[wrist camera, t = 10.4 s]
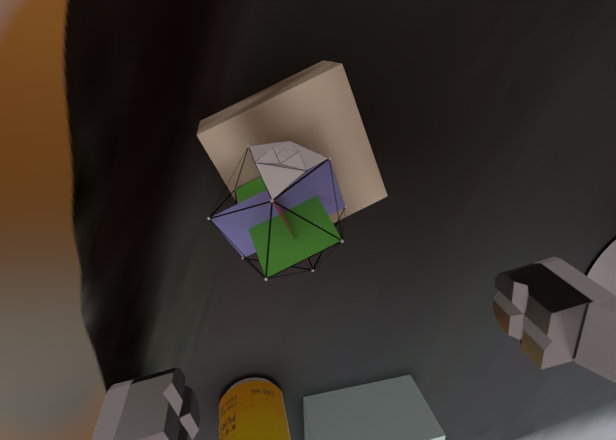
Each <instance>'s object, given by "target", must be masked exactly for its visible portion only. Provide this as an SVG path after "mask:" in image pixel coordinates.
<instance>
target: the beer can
mask: <svg viewBox="0 0 616 440" xmlns="http://www.w3.org/2000/svg"><path fill="white" fill-rule="evenodd" d="M219 440H291V439H290V433H289V428H288V423H287V417H286V412H285V406H284V401H283V396H282V392H281V390H280V389H279V388H278V387H277V386H276V385H274V384H273V383H271V382H270V381H268V380H266V379H263V378H248V379H244V380H241V381H239V382H237V383H235V384H234V385H233V386H231V387H230V388H229V390H228V391H227V392H226V393H225V395H224V396H223V397H222V399H221V401H220V404H219Z"/></svg>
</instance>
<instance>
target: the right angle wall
mask: <svg viewBox="0 0 616 440" xmlns="http://www.w3.org/2000/svg"><path fill="white" fill-rule="evenodd" d="M303 404H304V434H305V440H445V434H444V432H443V430H442V429H441V427H440V425H439V423H438V422H437V420H436V418H435V416H434V415H433V413H432V411H431V410H430V408H429V406H428V404H427V403H426V401H425V399H424V397H423V396H422V394H421V392H420V391H419V389H418V387H417V385H416V384H415V382H414V380H413V378H412V377H411V375H406V376H401V377H397V378H392V379H387V380H382V381H378V382H373V383H368V384H363V385H359V386H354V387H349V388H344V389H340V390H335V391H330V392H325V393H320V394H316V395H311V396H306V397H303Z"/></svg>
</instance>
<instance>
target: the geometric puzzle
mask: <svg viewBox="0 0 616 440" xmlns="http://www.w3.org/2000/svg"><path fill="white" fill-rule="evenodd" d="M248 148H249V150H250V152H251V155H252V157H253V160H254V163H255V165H256V167H257V169H258V171H259V174H260V177H258V178H256V179H254V180H252V181H250V182H248V183H246V184H244V185H241V186H239V187H237V188H236V186H237V183H236V186H235V188H234V189H233V191H232V192H231V194H232V193H233V192H235V200H236V205H235V206H233V207H231V208H229V209H227V210H225V211H223V212H221V213H219V214H217V215H215V216H213V214H214V213H215V212H216V211H217V210H218V209H219V208H220V206H221V205H222V204H223V203H224V202H225V201H226V200H227V199H228V197H229V196H230V195H231V194H230V195H229V196H228V197H227V198H226V199H225V200H224V201H223V203H222V204H221V205H220V206H219V207H218V208H217V209H216V210H215V212H214V213H213V214H212V213H211V214H212V215H210V217H208V218H207V219H208V220H210V221H211V222H212V223H213V224H214V225H215V226H216V228H217V229H218V230H219V231H220V232H221V233H222V234H223V236H224V237H225V238H226V239H227V240H228V241H229V243H230V244H231V245H232V246H233V247H234V248H235V249H236V251H237V252H238V253H239V254H240V255H241V256H242V259H245V260H246V259H247V260H248V258H247V256H249V255H251V254H253V253H255V252H257V255H258V258H259V260H255V261H260V264H261V267H262V269H263V272H264V275H265V277H264V275H263V274H262V273H261V272H260V271H259V270H258V269H257V268H256V267H255V266H254V265H253V264H252V263H251V262H250V261H249V260H254V259H249V260H248V261H249V262H250V263H251V264H252V265H253V266H254V267H255V268H256V269H255V268H254V267H253V266H252V265H251V264H250V263H249V262H248V261H247V260H246V261H247V262H248V263H249V264H250V265H251V266H252V267H253V268H254V269H255V270H257V271H258V272H259V273H260V274H261V275H262V276H263V277H264V280H265V281H267V279H269V278H270V277H272V276H274V275H276V274H278V273H280V272H282V271H284V270H286V269H288V268H290V267H294V265H296V264H298V263H300V262H302V261H304V260H306V259H307V261H308V263H309V265H310V267H311V269H307V270H310V271H312V272H313V271H314V269H315V268H316V267H317V266H318V265H319V264H320V263H321V262H322V261H323V260H324V259H325V258H326V257H327V256H328V255H329V254H330V253H331V252H332V251H333V250H334V249H335V248H336V247H337V246H338V245H339V244H340V243H343V242H344V240H343V236H342V233H341V237H340V235H339V234H338V232H337V230H336V228H335V227H336V225H337V223H338V221H339V219H340V217H341V215H342V214H343V212H344V210H345V208H347V206H346V205H345V204H344V201H343V198H342V195H341V192H340V189H339V186H338V183H337V180H336V176H335V173H334V170H333V167H332V164H331V161H330V160H331V157H325V156H323V155H321V154H319V153H316V152H314V151H312V150H310V149H307V148H305V147H303V146H301V145H299V144H296V143H294V142H292V141H283V142H275V143H267V144H260V145H252V146H250V145H247V149H246V150H247V151H248ZM247 151H245V152H246V154H247ZM244 154H245V153H244ZM246 154H245V157H244V160H243V164H244V161H245V158H246ZM243 156H244V155H243ZM240 161H241V160H240ZM239 163H240V162H239ZM243 164H242V167H243ZM238 165H239V164H238ZM237 167H238V166H237ZM242 167H241V170H242ZM235 170H236V169H235ZM241 170H240V173H241ZM234 172H235V171H234ZM240 173H239V176H240ZM233 174H234V173H233ZM232 176H233V175H232ZM239 176H238V179H239ZM231 178H232V177H231ZM238 179H237V182H238ZM229 181H230V180H229ZM228 183H229V182H228ZM227 185H228V184H227ZM226 187H227V186H226ZM223 192H224V191H223ZM222 194H223V193H222ZM236 195H237V196H236ZM221 196H222V195H221ZM220 198H221V197H220ZM237 198H238V201H239V204H237ZM217 203H218V202H217ZM216 205H217V204H216ZM215 207H216V206H215ZM214 209H215V208H214ZM341 209H343V211H342V213H341V215H340V217H339V214H338V221H337V223H336V225H335V226H334V225H333V223H332V221H331V219H330V218H329V215H331V214H333V213H335V212H337V213H338V211H339V210H341ZM212 212H213V211H212ZM212 216H213V217H212ZM344 219H345V215H344ZM339 226H340V221H339ZM343 230H344V225H343ZM340 232H341V227H340ZM341 238H342V239H341ZM338 243H339V244H338ZM336 244H338V245H337V246H336V247H335V248H334V249H333V250H332V251H331V252H330V253H329V254H328V255H327V256H326V257H325V258H324V259H323V260H322V261H321V262H320V263H319V264H318V265H317V266H316V264H317V262H318V260H319V258H320V256H321V254H322V252H323V251H324V250H326V249H328V248H330V247H332V246H334V245H336ZM320 252H321V254H320V256H319V258H318V260H317V262H316V263H315V265H314V267H312V265H311V263H310V260H309V258H310V257H312V256H314V255H316V254H318V253H320ZM315 266H316V267H315ZM295 268H300V267H295ZM301 269H306V268H301ZM304 272H307V271H304ZM299 273H301V272H299ZM293 274H296V273H293ZM288 275H291V274H288ZM283 276H285V275H283ZM277 277H280V276H277ZM272 278H275V277H272Z"/></svg>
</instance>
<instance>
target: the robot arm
mask: <svg viewBox="0 0 616 440" xmlns="http://www.w3.org/2000/svg"><path fill="white" fill-rule="evenodd" d="M495 287H496V288H497V289H498V290H499V293H498V294H497V295H496V297H495V298H494V301H493V310H494V313H495V316H496V319H497V321H498V323H499V324H500V326H501V327H502V328H503V330H504V331H505V332H506V333H507V334H508V335H510V336H512V337H515V338H517V339H520V344H521V349H522V350H523V351H524V352H525V353H526V354H527V355H528V356H529V357H530V359H531V360H532V361H533V362H534V363H535V364H536V365H537V366H538V367H539V368H540V369H541V370H542V369H545V368H549V367H552V366H556V365H559V364H563V363H566V362H570V361H573V360H575V361H574V362H575V363H577V364H579V365H581V366H583V367H585V368H587V369H589V370H591V371H593V372H595V373H597V374H599V375H601V376H603V377H605V378H607V379H609V380H611V381H613V382H615V383H616V240H615V241H614V242H613V243H612V244H611V245H610V246H609V247H608V248H607V249H606V250H605V251H604V252H603V253H602V254H601V256H600V257H599V258H598V259H597V261H596V262H595V263H594V265H593V266H592V268H591V270H590V271H589V273H588V275H587V276H586V275H584V274H583V273H581V272H580V271H578V270H577V269H575V268H574V267H572V266H571V265H569V264H568V263H566V262H565V261H563V260H562V259H560V258H556V257H552V258H549V259H545V260H542V261H539V262H535V263H533V264H529V265H525V266H522V267H519V268H516V269H512V270H509V271H506V272H502V273H499V274H498V275H497V277H496V278H495ZM199 419H200V417H199V408H198V402H197V399H196V396H195V394H194V392H193V390H192V389H191V388H189V387H186V386H185V375H184V374H183V372H182V370H181V369H180V368H173V369H170V370H166V371H162V372H158V373H155V374H151V375H147V376H143V377H139V378H136V379H134V380H130V381H126V382H122V383H118V384H115V385H113V386H112V387H111V388H110V389H109V390H108V392H107V395H106V398H105V401H104V404H103V407H102V410H101V413H100V415H99V418H98V421H97V424H96V427H95V430H94V433H93V436H92V439H91V440H193V438H194V437H195V435H196V433H197V432H198V430H199Z"/></svg>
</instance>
